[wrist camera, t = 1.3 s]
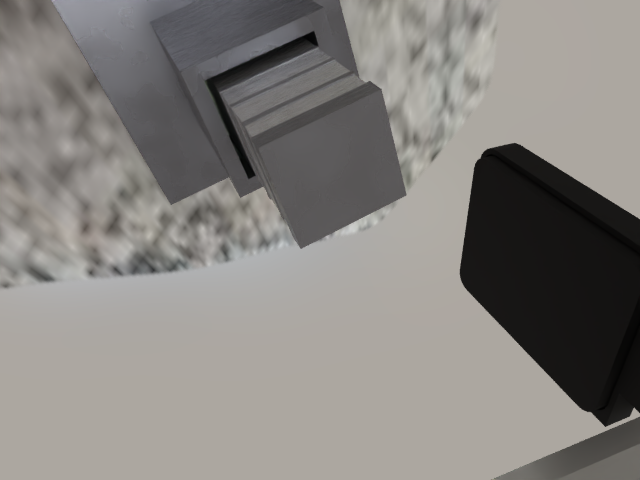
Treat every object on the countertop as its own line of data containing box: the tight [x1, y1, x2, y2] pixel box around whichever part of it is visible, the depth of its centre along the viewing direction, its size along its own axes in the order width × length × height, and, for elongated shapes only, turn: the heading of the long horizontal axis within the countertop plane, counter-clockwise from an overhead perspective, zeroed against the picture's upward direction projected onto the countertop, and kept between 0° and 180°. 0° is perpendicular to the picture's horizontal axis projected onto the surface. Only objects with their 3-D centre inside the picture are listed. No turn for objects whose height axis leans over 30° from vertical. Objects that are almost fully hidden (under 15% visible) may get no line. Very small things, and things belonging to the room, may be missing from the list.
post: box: [204, 36, 406, 248], centre depth 29 cm, size 5×5×17 cm
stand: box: [51, 0, 359, 205], centre depth 33 cm, size 16×16×12 cm
